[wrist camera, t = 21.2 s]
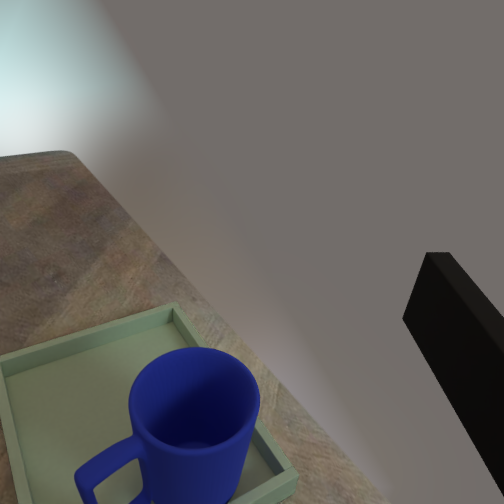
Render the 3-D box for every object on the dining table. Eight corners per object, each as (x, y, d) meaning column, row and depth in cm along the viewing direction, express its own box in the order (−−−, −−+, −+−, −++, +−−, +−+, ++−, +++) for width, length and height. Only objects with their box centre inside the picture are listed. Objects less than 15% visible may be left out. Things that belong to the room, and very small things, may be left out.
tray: (294, 493, 35) (299, 474, 33) (51, 642, 26) (43, 625, 25) (176, 319, 49) (176, 300, 48) (-6, 379, 41) (-12, 359, 40)
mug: (65, 508, 32) (41, 419, 26) (202, 414, 39) (205, 328, 34) (127, 615, 27) (113, 535, 22) (269, 486, 35) (287, 401, 29)
